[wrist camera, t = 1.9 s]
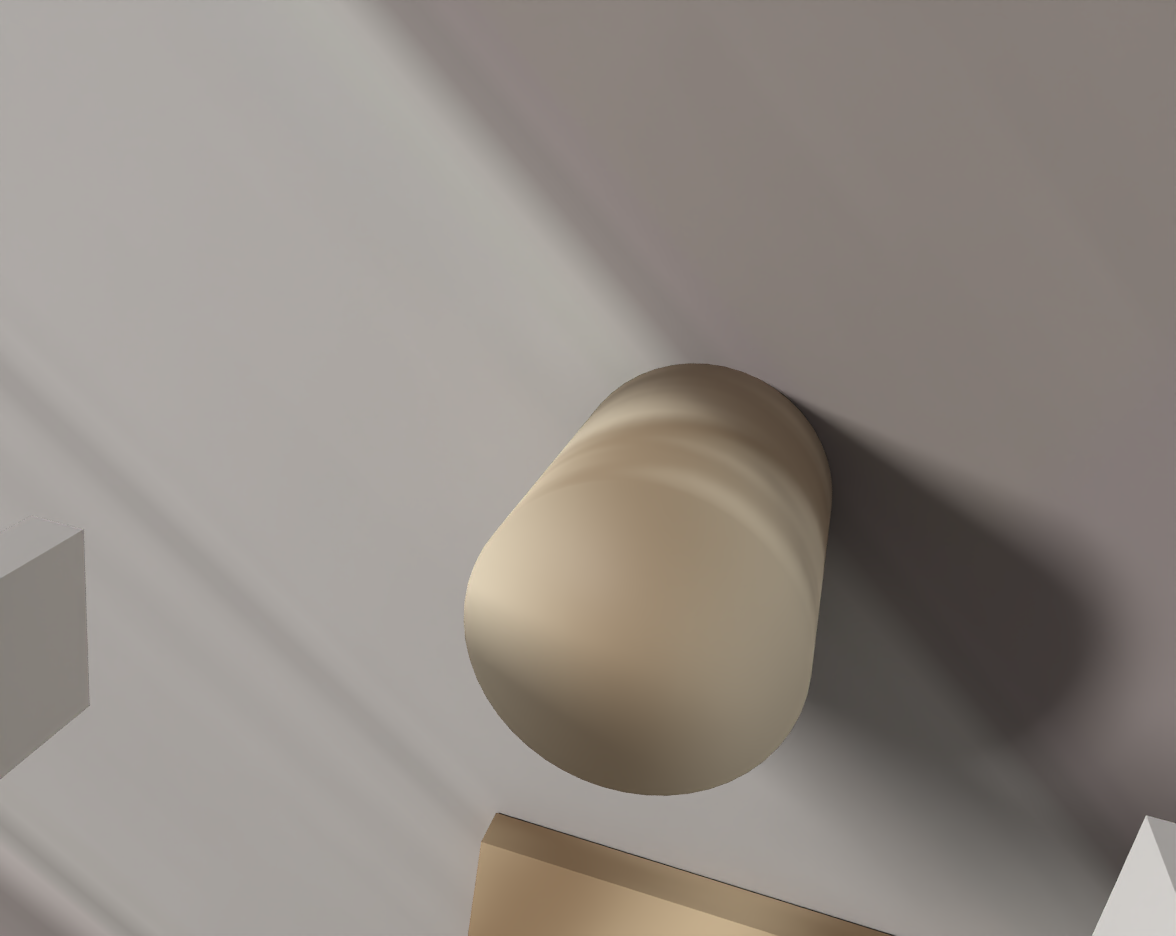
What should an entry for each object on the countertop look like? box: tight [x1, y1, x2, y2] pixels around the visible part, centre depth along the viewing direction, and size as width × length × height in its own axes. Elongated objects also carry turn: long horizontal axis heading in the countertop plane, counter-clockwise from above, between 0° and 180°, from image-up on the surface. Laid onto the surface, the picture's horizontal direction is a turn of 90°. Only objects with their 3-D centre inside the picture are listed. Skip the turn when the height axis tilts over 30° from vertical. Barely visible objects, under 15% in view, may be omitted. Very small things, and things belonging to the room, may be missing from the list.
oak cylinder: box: [464, 364, 832, 796], centre depth 18 cm, size 5×5×6 cm
